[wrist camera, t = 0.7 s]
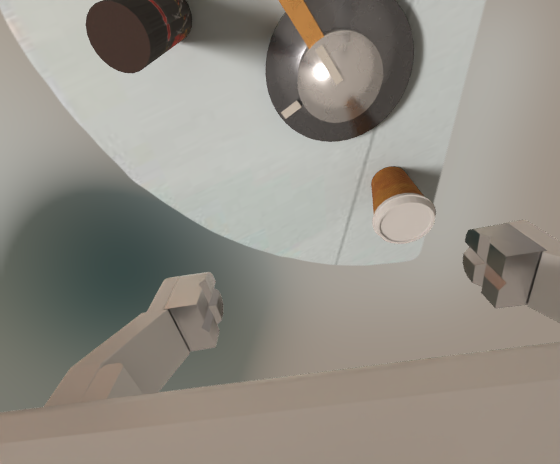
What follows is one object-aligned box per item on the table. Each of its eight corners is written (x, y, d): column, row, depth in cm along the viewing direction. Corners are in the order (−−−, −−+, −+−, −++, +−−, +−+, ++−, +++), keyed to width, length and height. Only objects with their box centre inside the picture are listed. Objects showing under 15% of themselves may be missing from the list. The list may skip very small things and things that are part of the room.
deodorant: (182, -18, 37) (133, -5, 26) (197, 38, 41) (160, 69, 30) (138, -10, 38) (72, 5, 27) (157, 44, 42) (106, 76, 31)
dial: (392, 82, 42) (398, 91, 39) (325, 128, 47) (326, 138, 44) (319, -64, 32) (320, -65, 30) (244, 13, 37) (240, 17, 35)
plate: (367, -69, 33) (370, -70, 32) (431, 84, 44) (436, 89, 42) (238, 55, 42) (235, 59, 41) (316, 157, 53) (316, 164, 51)
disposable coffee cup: (427, 170, 53) (452, 213, 45) (393, 208, 59) (409, 252, 51) (383, 149, 51) (400, 190, 42) (352, 191, 57) (361, 234, 48)
